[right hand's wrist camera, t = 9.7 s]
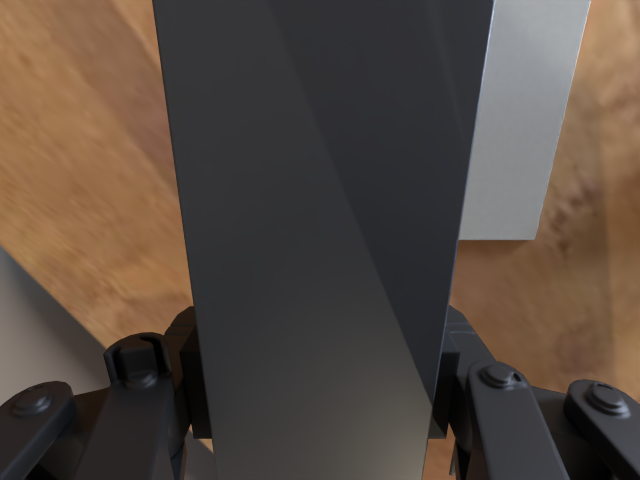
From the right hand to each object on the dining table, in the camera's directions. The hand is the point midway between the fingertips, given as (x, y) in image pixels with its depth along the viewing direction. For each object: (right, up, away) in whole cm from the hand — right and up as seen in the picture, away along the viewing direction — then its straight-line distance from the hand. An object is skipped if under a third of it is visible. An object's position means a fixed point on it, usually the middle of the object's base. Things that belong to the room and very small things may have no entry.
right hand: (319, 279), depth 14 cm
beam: (0, +12, -1) cm, 12 cm away
